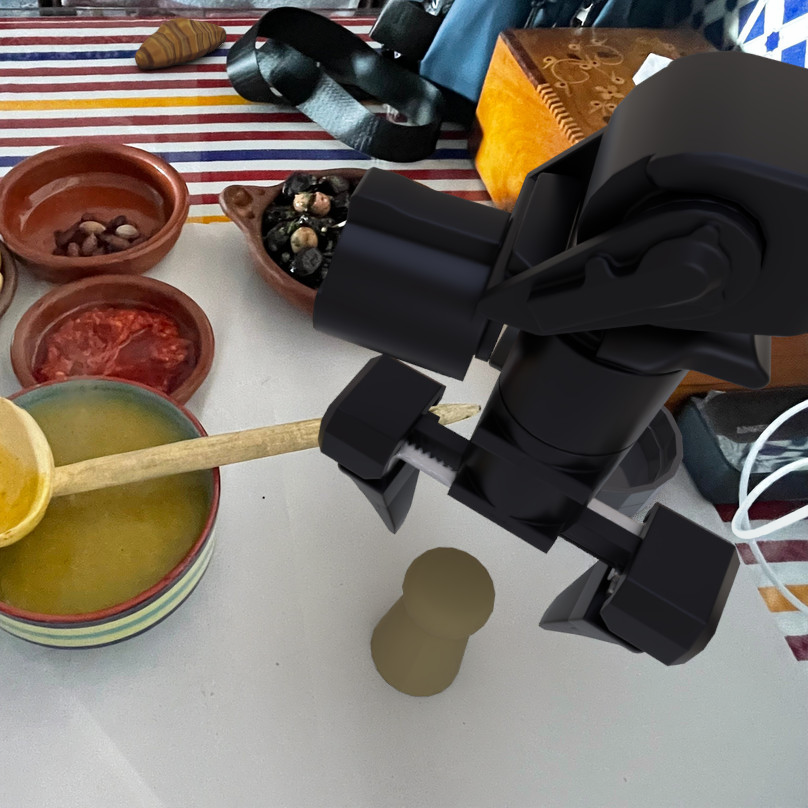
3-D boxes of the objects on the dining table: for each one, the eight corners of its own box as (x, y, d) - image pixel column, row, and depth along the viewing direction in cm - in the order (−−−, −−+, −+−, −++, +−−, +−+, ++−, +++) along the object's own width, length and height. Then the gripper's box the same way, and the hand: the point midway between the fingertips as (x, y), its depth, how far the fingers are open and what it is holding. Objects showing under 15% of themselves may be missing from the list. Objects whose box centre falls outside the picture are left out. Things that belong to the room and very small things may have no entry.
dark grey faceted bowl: (675, 447, 63) (702, 414, 59) (625, 553, 56) (652, 523, 53) (540, 378, 67) (558, 343, 63) (479, 470, 60) (495, 436, 57)
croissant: (153, 84, 93) (150, 43, 89) (123, 60, 96) (119, 20, 92) (240, 54, 99) (241, 14, 95) (210, 32, 102) (209, -7, 98)
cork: (408, 590, 53) (445, 511, 45) (478, 652, 51) (531, 581, 42) (351, 649, 51) (379, 576, 42) (423, 717, 48) (467, 654, 40)
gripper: (860, 387, 31) (677, 561, 43) (455, 203, 37) (395, 400, 49) (800, 590, 25) (608, 724, 37) (331, 331, 31) (298, 519, 44)
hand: (467, 572), depth 42 cm, fingers open, 9 cm apart
